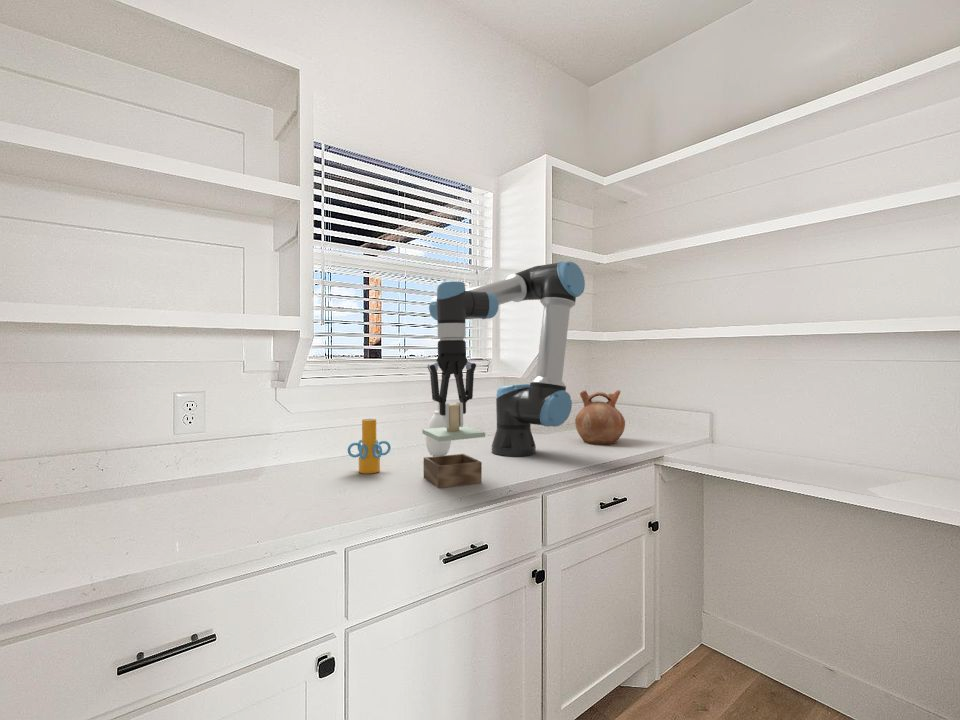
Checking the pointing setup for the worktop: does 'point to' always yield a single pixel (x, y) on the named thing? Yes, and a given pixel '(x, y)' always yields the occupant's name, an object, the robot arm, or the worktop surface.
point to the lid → (453, 428)
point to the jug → (600, 419)
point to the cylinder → (369, 448)
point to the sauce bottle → (433, 445)
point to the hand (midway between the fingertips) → (453, 426)
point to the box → (452, 470)
